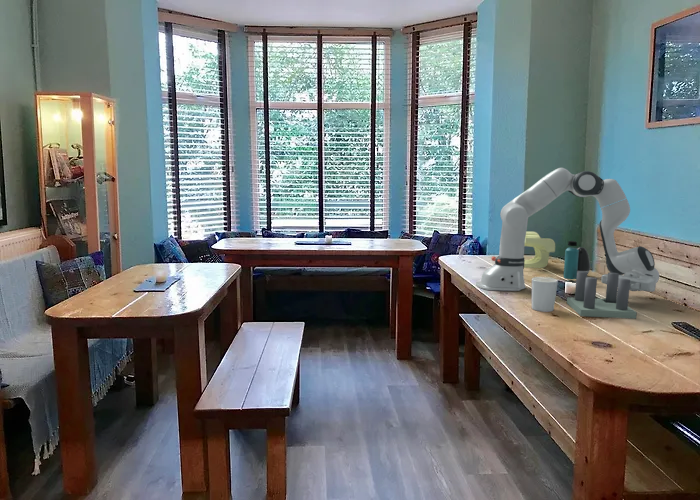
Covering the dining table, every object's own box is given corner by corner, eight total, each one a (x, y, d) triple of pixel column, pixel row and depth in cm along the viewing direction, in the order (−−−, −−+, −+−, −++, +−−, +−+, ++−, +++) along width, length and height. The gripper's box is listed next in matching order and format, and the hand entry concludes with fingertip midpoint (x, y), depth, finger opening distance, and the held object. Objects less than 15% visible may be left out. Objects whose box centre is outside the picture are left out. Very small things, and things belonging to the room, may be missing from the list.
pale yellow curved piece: (553, 270, 299) (555, 238, 297) (523, 270, 300) (525, 237, 297) (537, 261, 329) (539, 231, 326) (510, 260, 330) (512, 231, 327)
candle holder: (555, 307, 222) (557, 278, 220) (555, 313, 213) (558, 283, 211) (529, 305, 225) (531, 276, 223) (529, 310, 216) (531, 280, 214)
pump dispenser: (568, 276, 284) (570, 247, 281) (568, 273, 293) (570, 245, 291) (589, 278, 280) (592, 249, 278) (589, 274, 290) (591, 246, 287)
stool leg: (608, 308, 221) (611, 274, 219) (602, 306, 225) (605, 272, 223) (617, 308, 222) (621, 274, 219) (611, 305, 225) (614, 272, 223)
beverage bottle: (578, 282, 270) (581, 242, 266) (563, 282, 271) (566, 241, 268) (575, 280, 276) (578, 240, 273) (561, 279, 277) (564, 240, 274)
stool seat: (636, 318, 207) (639, 282, 205) (580, 316, 209) (583, 280, 207) (617, 305, 227) (620, 271, 224) (566, 303, 229) (569, 270, 227)
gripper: (611, 269, 241) (594, 272, 232) (660, 277, 225) (644, 281, 216) (609, 283, 242) (593, 287, 233) (658, 292, 226) (643, 296, 217)
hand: (618, 284), depth 225 cm, fingers open, 8 cm apart
